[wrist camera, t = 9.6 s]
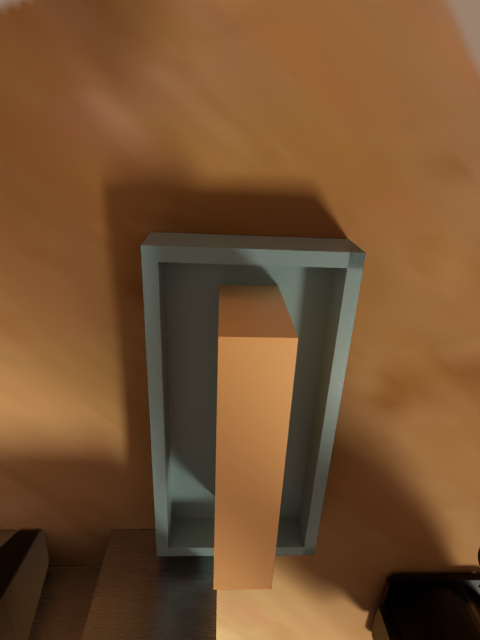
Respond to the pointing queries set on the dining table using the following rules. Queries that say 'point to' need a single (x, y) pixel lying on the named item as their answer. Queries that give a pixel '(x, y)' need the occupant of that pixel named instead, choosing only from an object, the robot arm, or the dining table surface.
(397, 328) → the dining table surface
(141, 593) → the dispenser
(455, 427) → the dining table surface
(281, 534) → the tray
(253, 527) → the orange-brown rectangular block
